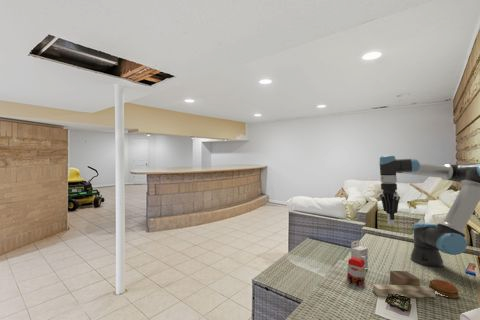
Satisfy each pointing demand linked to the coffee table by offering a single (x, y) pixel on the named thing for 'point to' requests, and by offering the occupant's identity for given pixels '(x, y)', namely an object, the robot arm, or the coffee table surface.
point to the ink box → (359, 252)
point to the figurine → (356, 270)
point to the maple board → (404, 290)
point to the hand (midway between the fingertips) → (391, 225)
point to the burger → (444, 288)
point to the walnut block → (403, 278)
